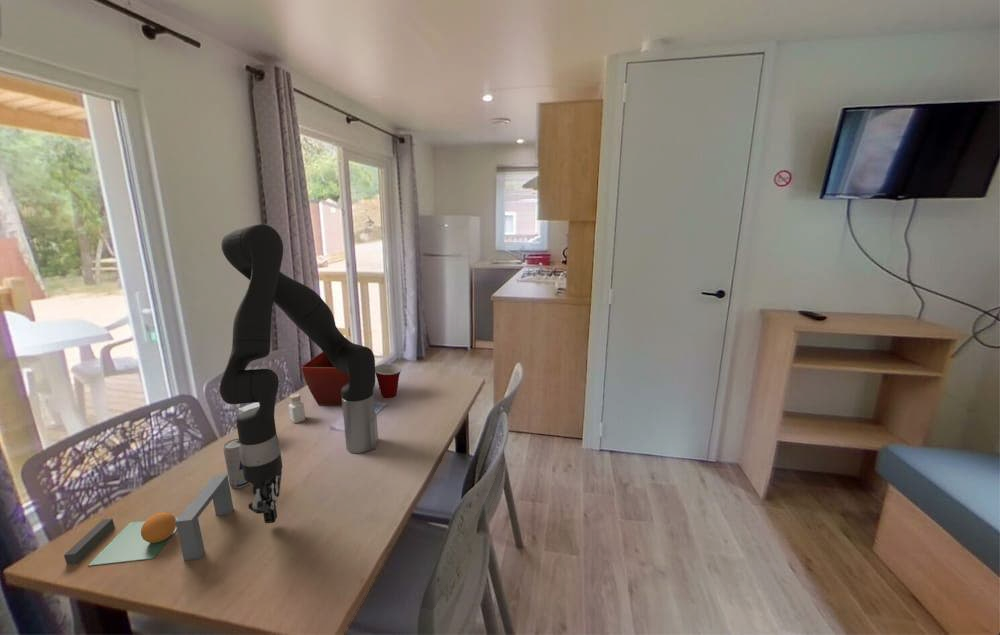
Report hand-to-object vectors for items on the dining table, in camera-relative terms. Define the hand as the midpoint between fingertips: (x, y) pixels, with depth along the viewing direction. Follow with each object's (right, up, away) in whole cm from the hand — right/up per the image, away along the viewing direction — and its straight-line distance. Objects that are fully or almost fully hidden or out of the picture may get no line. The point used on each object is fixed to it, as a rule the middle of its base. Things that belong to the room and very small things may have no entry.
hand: (271, 520), depth 93 cm
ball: (-22, +1, -4) cm, 23 cm away
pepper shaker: (-18, +11, +49) cm, 53 cm away
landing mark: (-27, -2, -4) cm, 27 cm away
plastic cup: (+9, +16, +69) cm, 71 cm away
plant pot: (-10, +15, +66) cm, 68 cm away
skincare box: (-25, +7, +36) cm, 44 cm away
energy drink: (-17, +2, +15) cm, 23 cm away
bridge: (-13, -2, -2) cm, 13 cm away
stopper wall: (-36, -3, -6) cm, 37 cm away
